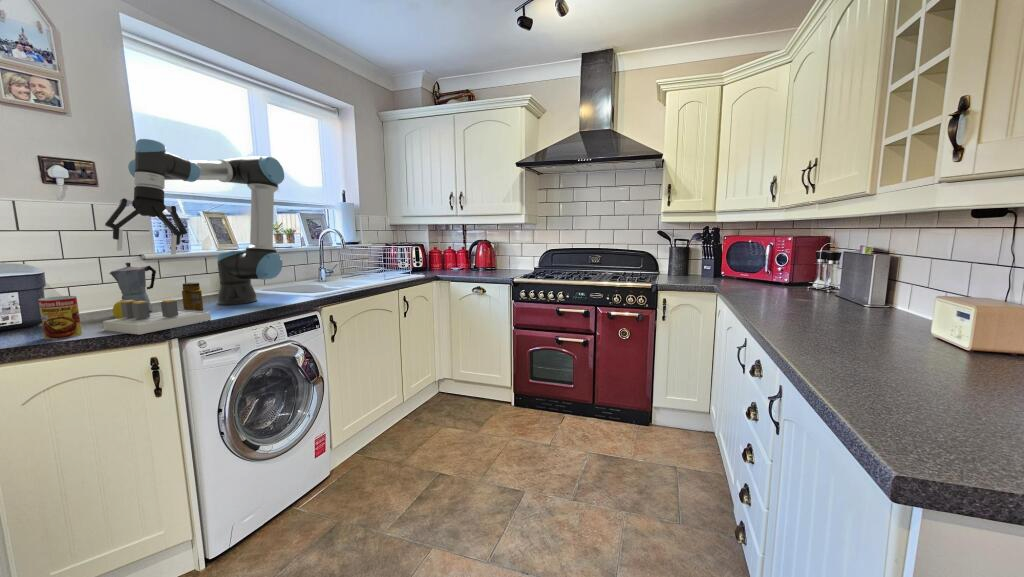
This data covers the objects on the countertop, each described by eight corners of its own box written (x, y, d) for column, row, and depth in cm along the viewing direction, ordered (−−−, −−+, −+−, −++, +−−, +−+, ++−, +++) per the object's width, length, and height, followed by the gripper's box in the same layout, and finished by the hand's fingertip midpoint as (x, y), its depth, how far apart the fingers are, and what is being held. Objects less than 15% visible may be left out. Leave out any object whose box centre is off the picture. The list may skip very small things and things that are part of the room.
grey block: (172, 314, 142) (170, 299, 141) (178, 315, 141) (176, 299, 140) (162, 316, 139) (160, 300, 138) (168, 317, 138) (166, 300, 137)
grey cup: (144, 316, 139) (142, 300, 139) (150, 317, 138) (148, 301, 138) (133, 318, 137) (131, 301, 136) (139, 319, 135) (137, 302, 135)
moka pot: (107, 315, 160) (99, 263, 157) (150, 308, 174) (144, 260, 172) (125, 316, 157) (118, 263, 155) (168, 309, 172) (162, 260, 169)
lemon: (119, 321, 150) (116, 299, 148) (138, 319, 151) (135, 298, 150) (110, 324, 144) (107, 301, 143) (130, 322, 146) (127, 300, 145)
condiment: (204, 311, 167) (201, 281, 166) (206, 314, 161) (202, 283, 159) (181, 313, 163) (178, 283, 161) (182, 317, 156) (178, 285, 155)
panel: (178, 317, 156) (177, 308, 155) (211, 320, 150) (210, 311, 149) (104, 330, 135) (103, 320, 135) (138, 334, 129) (137, 324, 129)
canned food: (41, 341, 122) (34, 300, 121) (49, 335, 129) (42, 297, 127) (78, 336, 127) (72, 298, 125) (84, 332, 133) (79, 295, 132)
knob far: (133, 315, 141) (131, 299, 141) (138, 316, 140) (136, 300, 140) (122, 317, 139) (120, 300, 138) (128, 317, 138) (125, 301, 137)
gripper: (99, 177, 125) (96, 247, 124) (199, 194, 145) (197, 255, 144) (94, 180, 129) (91, 249, 129) (191, 197, 149) (189, 256, 149)
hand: (147, 252), depth 136 cm, fingers open, 13 cm apart
